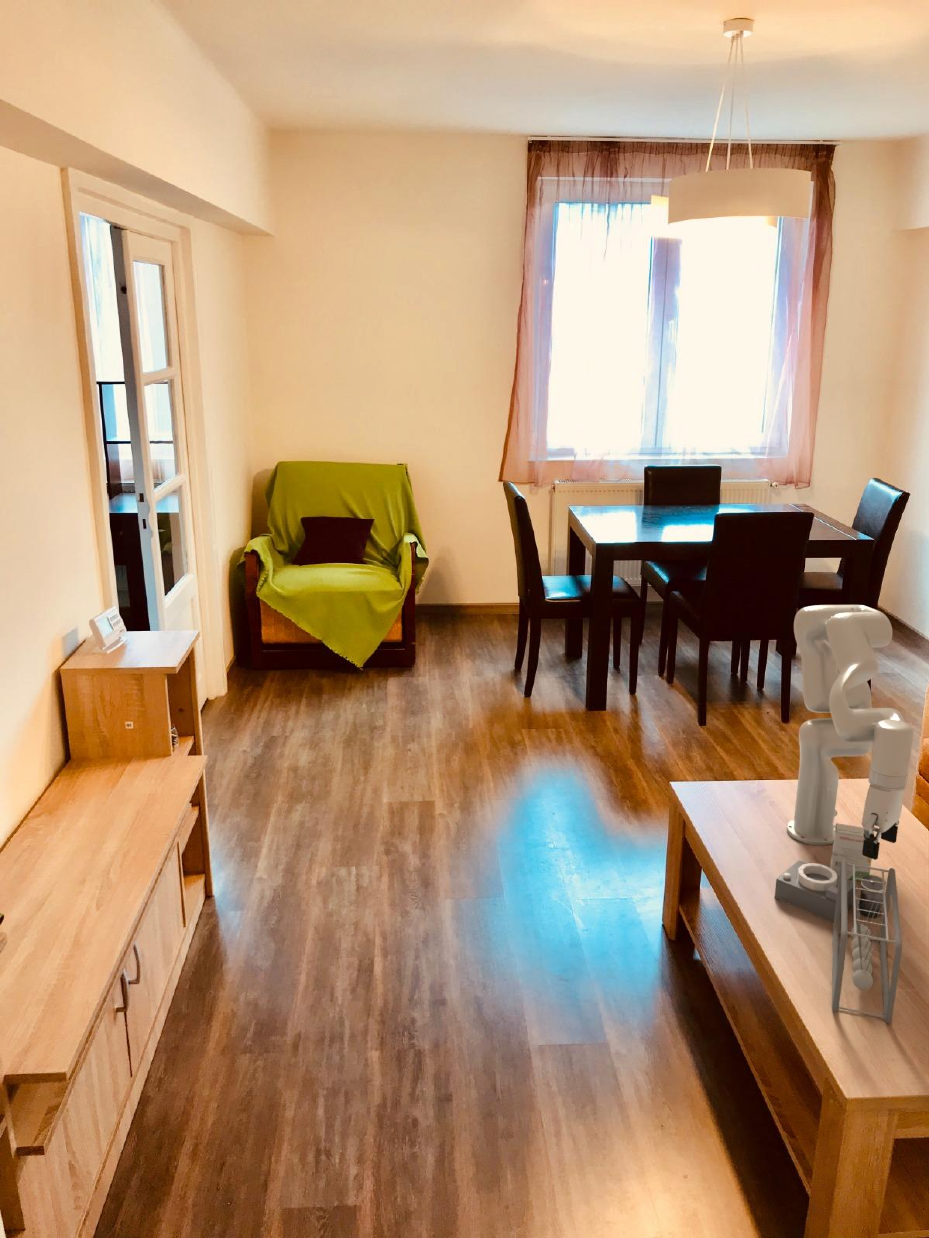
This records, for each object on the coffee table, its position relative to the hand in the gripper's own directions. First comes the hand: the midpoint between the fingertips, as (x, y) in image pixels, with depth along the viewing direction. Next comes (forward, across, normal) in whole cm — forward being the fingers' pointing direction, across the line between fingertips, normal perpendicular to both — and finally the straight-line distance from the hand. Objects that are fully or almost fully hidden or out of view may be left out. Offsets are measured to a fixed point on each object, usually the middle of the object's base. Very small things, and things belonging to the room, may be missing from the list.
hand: (879, 848), depth 212 cm
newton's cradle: (+17, +22, +7) cm, 29 cm away
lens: (+16, 0, 0) cm, 16 cm away
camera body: (+16, +4, -12) cm, 20 cm away
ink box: (+16, -12, -10) cm, 23 cm away
